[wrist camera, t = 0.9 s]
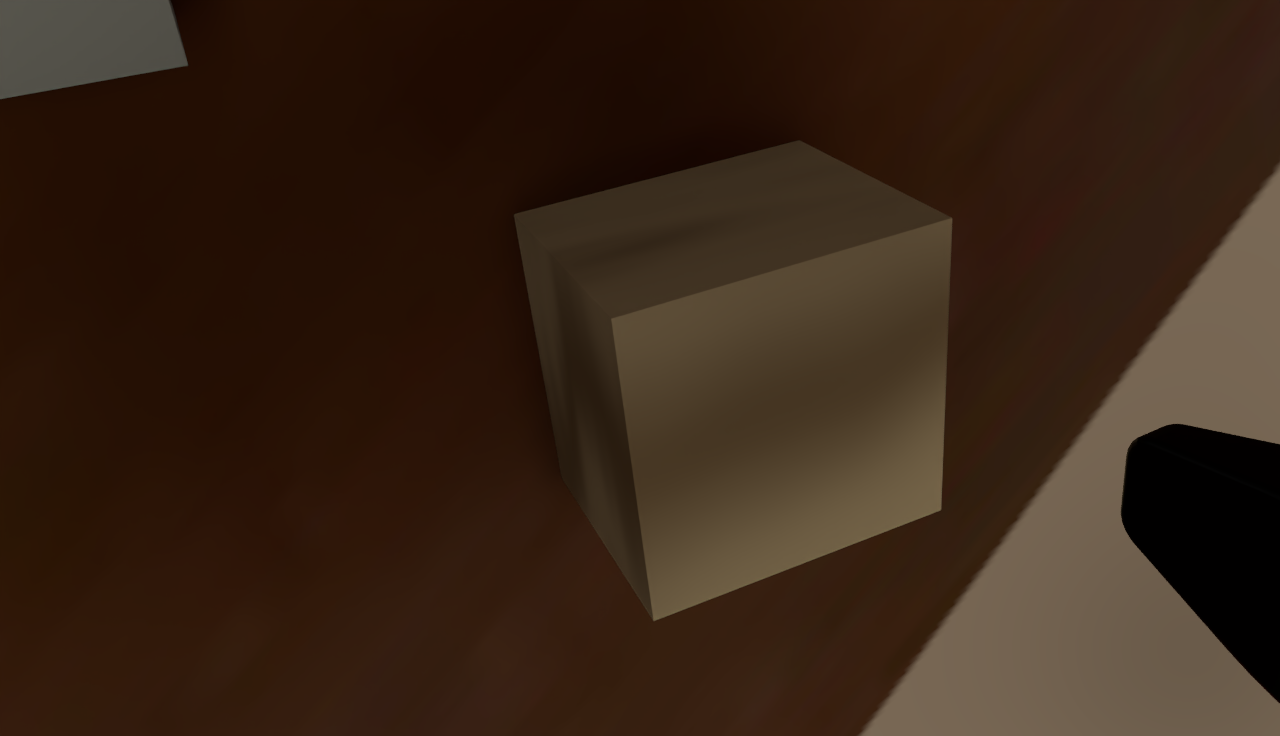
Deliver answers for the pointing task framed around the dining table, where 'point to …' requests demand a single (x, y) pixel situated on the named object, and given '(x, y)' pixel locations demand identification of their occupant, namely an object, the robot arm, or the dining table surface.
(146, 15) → the base block
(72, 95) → the dining table surface
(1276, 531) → the robot arm
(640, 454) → the birch block
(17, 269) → the dining table surface
